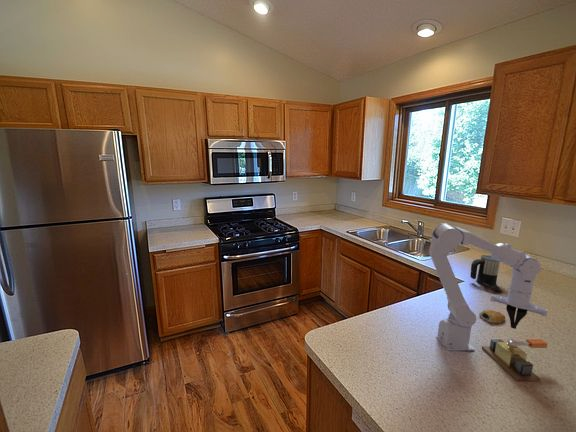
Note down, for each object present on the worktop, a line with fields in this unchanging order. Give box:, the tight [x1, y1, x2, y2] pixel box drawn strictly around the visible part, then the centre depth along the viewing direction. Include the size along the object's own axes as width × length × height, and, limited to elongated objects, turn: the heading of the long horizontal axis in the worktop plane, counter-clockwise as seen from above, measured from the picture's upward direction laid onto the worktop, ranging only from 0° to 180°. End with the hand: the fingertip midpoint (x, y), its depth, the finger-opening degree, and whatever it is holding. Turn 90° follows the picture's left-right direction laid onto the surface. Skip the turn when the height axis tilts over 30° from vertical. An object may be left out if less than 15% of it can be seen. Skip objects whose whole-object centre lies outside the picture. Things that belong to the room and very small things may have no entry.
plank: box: [481, 345, 541, 382], centre depth 91 cm, size 7×15×1 cm, turn 2°
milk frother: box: [470, 254, 502, 292], centre depth 149 cm, size 14×16×15 cm
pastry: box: [478, 309, 506, 324], centre depth 117 cm, size 9×7×4 cm
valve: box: [489, 338, 534, 375], centre depth 90 cm, size 5×13×5 cm, turn 2°
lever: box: [506, 338, 549, 349], centre depth 90 cm, size 12×3×2 cm, turn 92°
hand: (513, 327), depth 95 cm, fingers closed
